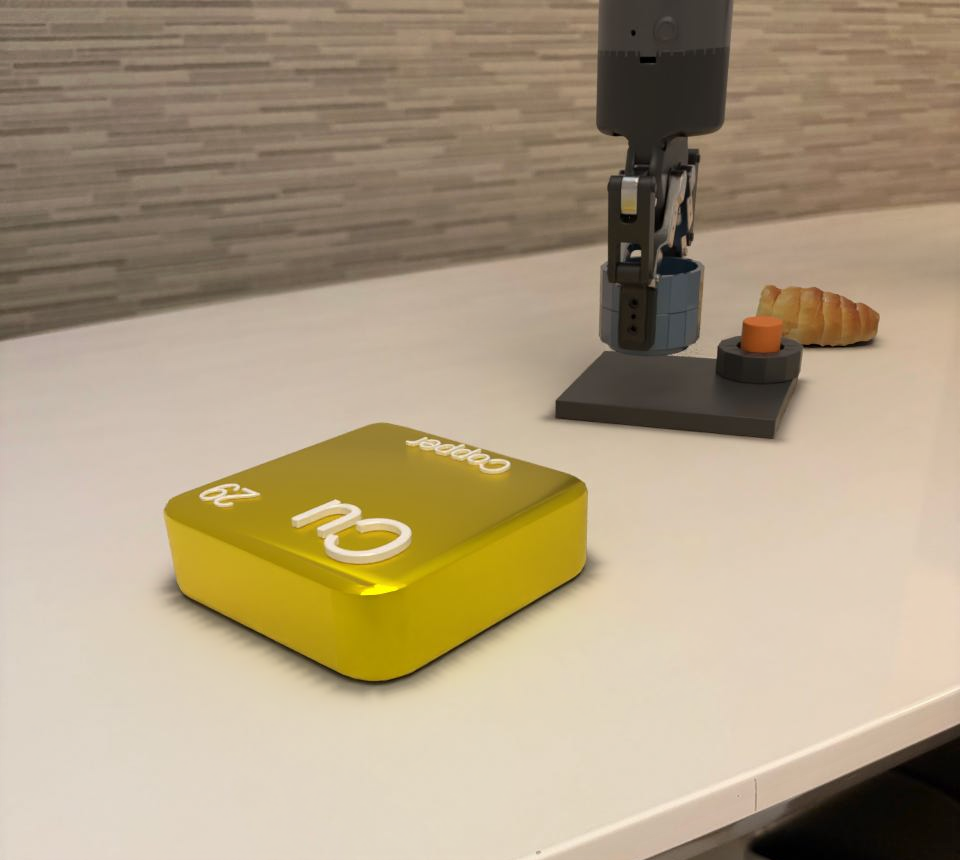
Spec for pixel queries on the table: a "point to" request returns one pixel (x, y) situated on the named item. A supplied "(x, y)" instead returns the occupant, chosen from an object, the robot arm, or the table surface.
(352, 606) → the element tile
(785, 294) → the pastry
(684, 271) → the blue cup
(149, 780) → the table surface
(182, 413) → the table surface
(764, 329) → the button
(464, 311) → the table surface
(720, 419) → the scale
